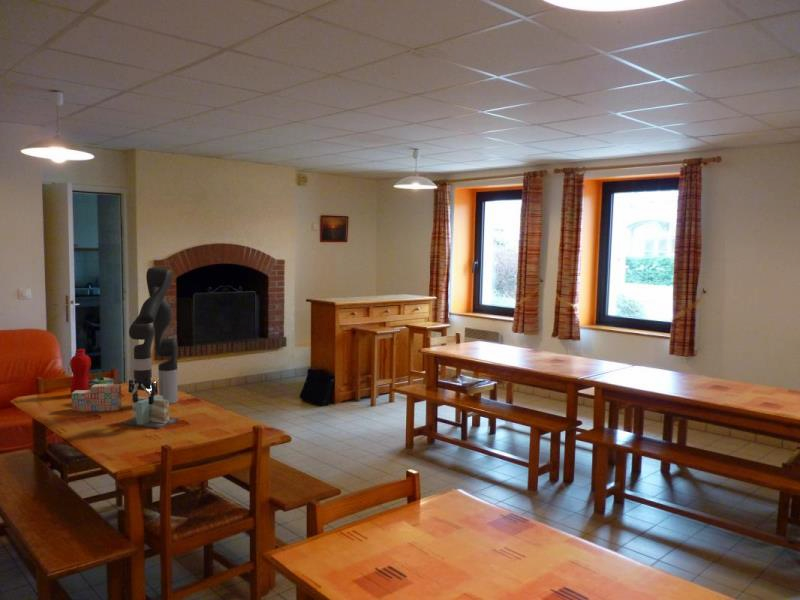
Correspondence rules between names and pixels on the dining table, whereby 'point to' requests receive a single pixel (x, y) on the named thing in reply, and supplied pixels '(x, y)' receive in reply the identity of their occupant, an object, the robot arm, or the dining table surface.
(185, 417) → the dining table surface
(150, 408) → the sage crossbar
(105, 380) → the chalk box
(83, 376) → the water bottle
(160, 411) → the stand
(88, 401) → the stack of blocks
